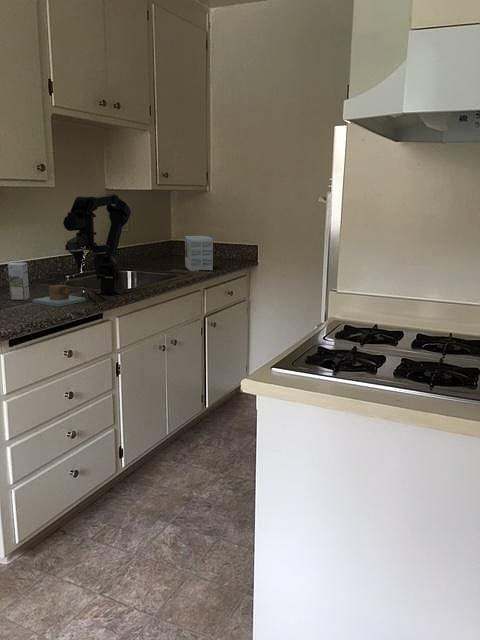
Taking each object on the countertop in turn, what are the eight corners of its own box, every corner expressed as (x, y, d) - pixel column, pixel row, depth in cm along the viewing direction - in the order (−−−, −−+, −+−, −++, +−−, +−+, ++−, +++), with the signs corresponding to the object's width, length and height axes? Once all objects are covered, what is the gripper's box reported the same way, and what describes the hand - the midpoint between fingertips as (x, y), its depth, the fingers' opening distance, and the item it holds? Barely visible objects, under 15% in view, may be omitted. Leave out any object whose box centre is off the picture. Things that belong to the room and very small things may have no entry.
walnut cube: (59, 297, 219) (59, 284, 218) (68, 298, 216) (67, 285, 215) (49, 299, 214) (48, 286, 213) (58, 300, 212) (57, 287, 211)
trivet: (61, 297, 225) (61, 294, 225) (85, 300, 218) (85, 297, 218) (32, 302, 213) (32, 299, 213) (57, 306, 206) (57, 303, 206)
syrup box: (30, 297, 223) (27, 261, 220) (24, 300, 217) (22, 263, 214) (15, 297, 223) (12, 261, 220) (10, 300, 217) (7, 263, 214)
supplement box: (184, 267, 322) (184, 235, 318) (206, 266, 326) (206, 235, 322) (189, 271, 306) (189, 238, 302) (213, 270, 310) (213, 238, 306)
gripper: (53, 229, 213) (55, 269, 216) (87, 231, 203) (89, 273, 207) (75, 228, 222) (77, 267, 225) (109, 230, 213) (111, 270, 216)
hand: (88, 269), depth 218 cm, fingers open, 9 cm apart
